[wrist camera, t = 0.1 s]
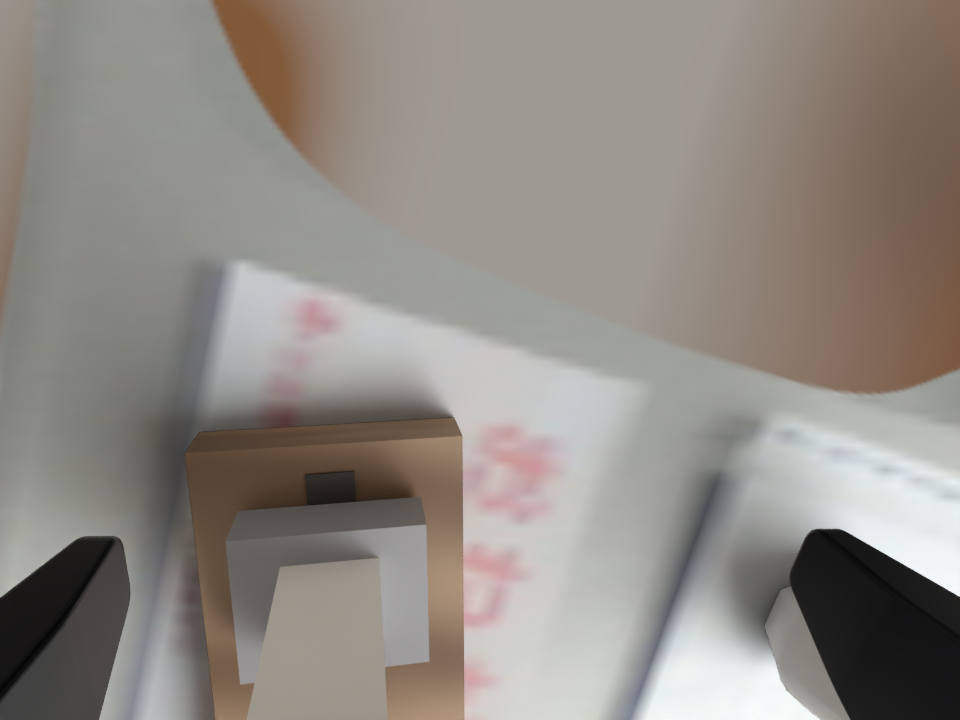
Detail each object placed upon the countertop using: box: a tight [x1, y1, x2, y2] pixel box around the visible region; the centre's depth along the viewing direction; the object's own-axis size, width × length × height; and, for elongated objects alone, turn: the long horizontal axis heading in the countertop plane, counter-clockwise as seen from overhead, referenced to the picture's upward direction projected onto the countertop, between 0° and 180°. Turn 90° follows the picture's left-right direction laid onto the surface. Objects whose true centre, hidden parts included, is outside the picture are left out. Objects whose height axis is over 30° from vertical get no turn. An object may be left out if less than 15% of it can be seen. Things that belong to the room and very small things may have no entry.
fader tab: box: [226, 497, 429, 720], centre depth 17 cm, size 5×6×11 cm
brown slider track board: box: [185, 418, 464, 720], centre depth 25 cm, size 18×9×2 cm, turn 0°
